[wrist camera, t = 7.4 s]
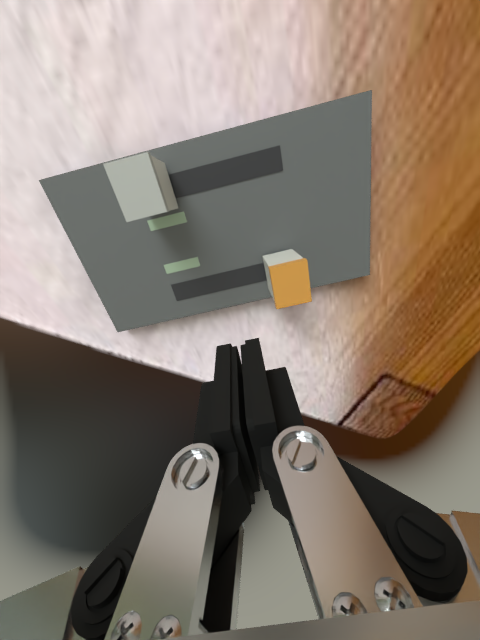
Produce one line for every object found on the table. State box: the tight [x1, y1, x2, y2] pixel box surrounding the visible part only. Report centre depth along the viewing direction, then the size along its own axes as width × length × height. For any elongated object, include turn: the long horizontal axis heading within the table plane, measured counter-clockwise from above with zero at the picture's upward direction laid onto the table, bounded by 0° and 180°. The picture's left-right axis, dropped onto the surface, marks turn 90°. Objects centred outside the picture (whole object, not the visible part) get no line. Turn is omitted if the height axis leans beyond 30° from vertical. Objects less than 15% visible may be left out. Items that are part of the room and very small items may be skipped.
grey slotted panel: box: [39, 90, 372, 332], centre depth 21 cm, size 24×13×2 cm, turn 103°
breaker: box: [103, 152, 178, 222], centre depth 16 cm, size 3×3×4 cm
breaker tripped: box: [263, 249, 312, 309], centre depth 19 cm, size 3×3×4 cm
